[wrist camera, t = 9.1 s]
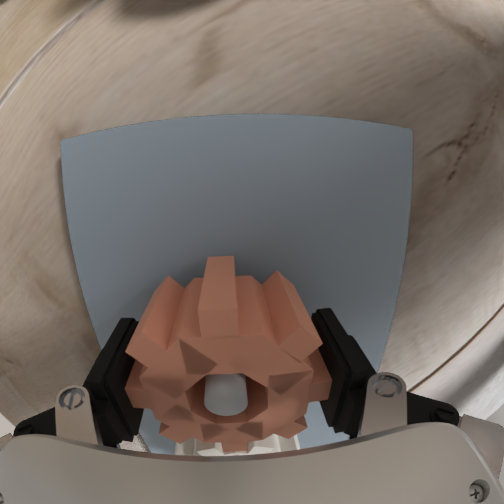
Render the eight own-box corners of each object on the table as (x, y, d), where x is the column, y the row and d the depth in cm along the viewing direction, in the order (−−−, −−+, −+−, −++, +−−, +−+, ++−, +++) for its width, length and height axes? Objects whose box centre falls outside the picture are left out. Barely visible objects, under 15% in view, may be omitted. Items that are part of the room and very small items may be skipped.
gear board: (76, 141, 11) (-17, 140, 4) (395, 130, 12) (491, 126, 6) (160, 451, 18) (152, 511, 12) (341, 437, 19) (363, 494, 13)
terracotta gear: (133, 260, 10) (91, 310, 7) (311, 251, 11) (351, 299, 7) (164, 387, 13) (152, 449, 9) (300, 381, 13) (319, 441, 9)
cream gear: (157, 405, 14) (146, 457, 10) (266, 372, 14) (277, 431, 10) (214, 455, 16) (214, 498, 13) (304, 431, 16) (316, 476, 12)
